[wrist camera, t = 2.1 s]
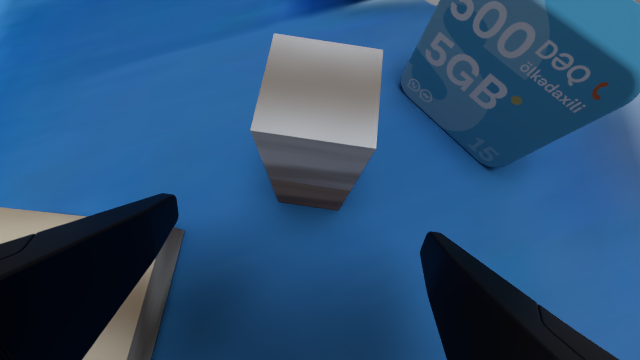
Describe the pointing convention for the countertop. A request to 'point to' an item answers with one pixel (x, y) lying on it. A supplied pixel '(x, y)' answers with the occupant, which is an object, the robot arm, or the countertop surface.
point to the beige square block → (140, 306)
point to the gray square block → (317, 118)
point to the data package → (523, 70)
